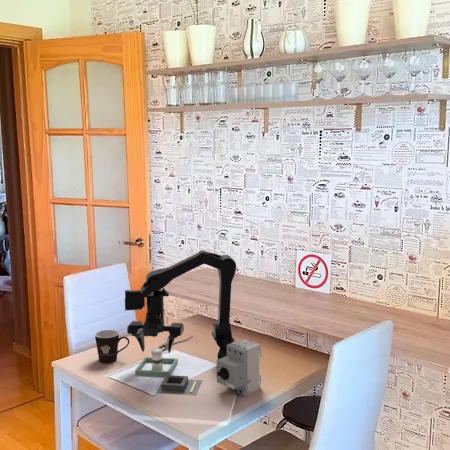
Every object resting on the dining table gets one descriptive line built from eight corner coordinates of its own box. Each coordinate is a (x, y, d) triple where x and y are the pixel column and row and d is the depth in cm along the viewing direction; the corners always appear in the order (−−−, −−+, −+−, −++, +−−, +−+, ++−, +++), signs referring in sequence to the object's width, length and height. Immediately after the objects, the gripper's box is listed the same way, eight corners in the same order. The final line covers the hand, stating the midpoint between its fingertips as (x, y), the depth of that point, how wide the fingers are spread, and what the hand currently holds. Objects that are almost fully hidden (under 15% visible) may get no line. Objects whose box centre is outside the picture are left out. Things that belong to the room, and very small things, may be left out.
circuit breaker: (213, 395, 182) (212, 350, 179) (244, 381, 191) (244, 338, 189) (230, 403, 176) (229, 356, 174) (261, 388, 186) (261, 344, 184)
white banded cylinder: (164, 367, 201) (163, 348, 200) (161, 372, 198) (160, 352, 197) (153, 367, 202) (153, 348, 201) (150, 371, 198) (149, 352, 197)
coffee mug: (91, 362, 208) (89, 335, 207) (105, 354, 216) (104, 328, 214) (117, 367, 203) (116, 340, 202) (131, 358, 211) (130, 332, 209)
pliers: (194, 333, 236) (179, 351, 217) (194, 335, 236) (179, 353, 217) (171, 332, 238) (155, 349, 219) (171, 334, 238) (155, 351, 219)
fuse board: (202, 383, 190) (202, 374, 190) (196, 398, 180) (196, 389, 179) (164, 381, 192) (164, 372, 192) (155, 395, 181) (155, 386, 181)
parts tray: (177, 365, 205) (177, 358, 205) (169, 379, 193) (169, 372, 193) (145, 363, 207) (144, 356, 206) (135, 377, 195) (135, 370, 195)
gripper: (121, 314, 190) (122, 359, 192) (176, 317, 187) (177, 362, 190) (131, 304, 201) (132, 347, 203) (183, 307, 198) (184, 350, 201)
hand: (156, 352), depth 199 cm, fingers open, 9 cm apart
